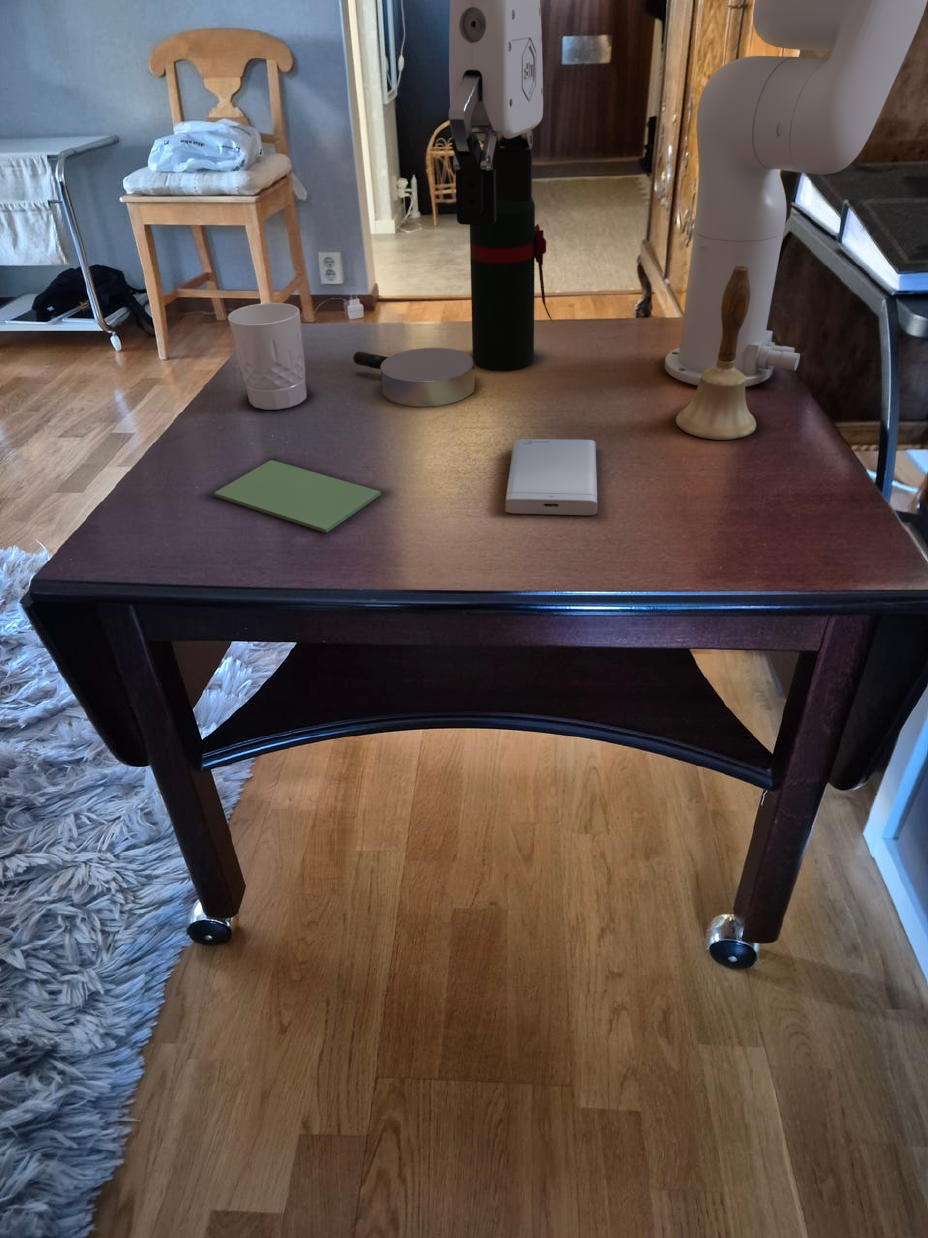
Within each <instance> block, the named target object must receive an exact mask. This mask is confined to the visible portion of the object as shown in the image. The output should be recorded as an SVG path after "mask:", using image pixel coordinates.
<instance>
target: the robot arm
mask: <svg viewBox="0 0 928 1238" xmlns="http://www.w3.org/2000/svg"><path fill="white" fill-rule="evenodd" d="M927 4H928V0H755V1H754V5H753V10H752V11H753V12H752V23H753V27H754V31H755V33H756V35H757V36H758V38H759V39H761V40H762V41H763V42H764V43H765V44H768V45H770V46H772V47H775V48H781V49H786V50H796V51H822V52H823V51H825V52H827V51H828V52H831V55H830V56H829V58H819V57H818V58H815V57H799V56H782V55H781V56H779V55H752V56H743V57H741V58H737V59H734V60H731V61H729V62H727V63H725V64H723V65H722V66H720V67H719V68H718V69H717V70H716V71H715V72H714V73H713V74H712V75H711V76H710V77H709V79H708V80H707V82H706V84H705V85H704V86H703V89H702V91H701V94H700V97H699V101H698V104H697V110H696V121H695V122H696V125H695V127H696V144H697V145H696V146H697V159H698V160H697V163H698V165H697V166H698V179H697V180H698V181H697V195H696V205H695V217H694V224H693V233H692V242H691V249H690V250H691V251H690V258H689V266H688V267H689V268H688V276H687V285H686V293H685V302H684V310H683V319H682V328H681V335H680V344H679V347H677V348H675V349H672V350H670V351H669V352H668V353H667V354H666V356H665V358H664V370H665V371H666V372H667V374H669V376H671V377H673V378H675V380H677V381H680V382H683V383H686V384H689V385H694V386H698V385H699V382H700V378H701V375H702V373H703V372H704V371H705V370H707V369H710V368H713V367H715V366H716V365H717V360H718V354H719V352H720V351H719V350H720V345H721V340H722V334H723V327H722V320H721V306H722V299H723V294H724V291H725V288H726V286H727V284H728V282H729V280H730V278H731V276H732V273H733V271H734V268H735V267H736V266H746V267H748V276H749V282H750V292H751V295H750V303H749V308H748V312H747V315H746V318H745V320H744V322H743V324H742V327H741V329H740V331H739V335H738V341H737V349H736V358H735V359H734V360H735V363H734V368H735V369H737V370H738V371H740V372H742V373H743V374H744V376H745V378H746V381H745V388H747V387H751V386H754V385H758V384H761V383H763V382H765V381H766V380H768V379H769V378H771V376H772V375H773V370H774V367H775V368H778V369H779V370H780V369H781V370H787V371H793V372H795V371H797V368H798V366H799V364H800V363H799V362H800V359H801V354H800V353H798V352H795V350H796V347H791V346H786V345H776V343H775V342H774V341H773V342H772V338H773V333H774V332H773V331H772V330H768V329H767V327H768V322H769V316H770V311H771V304H772V299H773V294H774V287H775V283H776V276H777V271H778V265H779V260H780V254H781V253H780V252H781V250H782V249H781V248H782V244H783V243H782V242H783V238H784V237H783V236H784V233H785V227H786V221H787V211H788V210H787V198H786V192H785V188H784V185H783V181H782V178H781V174H780V171H787V172H793V173H802V174H810V175H832V174H836V173H838V172H841V171H843V170H844V169H846V168H847V167H848V166H850V165H851V164H852V163H853V162H854V161H855V159H856V158H858V156H859V154H860V153H861V152H862V150H863V149H864V147H865V145H866V143H867V142H868V140H869V138H870V136H871V134H872V132H873V130H874V128H875V125H876V123H877V121H878V119H879V117H880V115H881V112H882V110H883V108H884V105H885V103H886V101H887V98H888V97H889V94H890V92H891V89H892V87H893V85H894V84H895V80H896V79H897V77H898V74H899V72H900V70H901V67H902V65H903V62H904V61H905V58H906V56H907V54H908V52H909V49H910V47H911V44H912V42H913V40H914V38H915V36H916V33H917V31H918V28H919V26H920V23H921V21H922V18H923V16H924V13H925V10H926V8H927ZM448 25H449V26H448V27H449V28H448V31H449V32H448V73H449V74H448V83H449V109H448V120H449V126H450V132H451V136H452V138H451V139H450V144H451V145H450V146H451V149H452V151H453V153H454V154H453V159H452V166H453V169H454V174H455V175H454V177H455V179H454V180H455V205H456V221H457V223H458V224H459V225H463V226H470V225H484V226H491V225H493V224H494V223H495V222H496V198H497V199H498V200H507V201H528V200H530V199H531V197H532V198H533V144H534V135H533V129H535V128H536V127H537V126H538V125H539V124H540V123H541V122H542V120H543V116H544V74H543V73H544V71H543V70H544V69H543V68H544V65H543V34H542V33H543V31H542V28H543V27H542V10H541V0H449V23H448ZM497 138H498V142H499V145H500V148H504V149H496V150H495V155H496V169H492V159H493V154H494V149H495V144H496V139H497ZM480 142H483V144H482V146H481V144H480Z"/></svg>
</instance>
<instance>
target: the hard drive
mask: <svg viewBox="0 0 928 1238" xmlns="http://www.w3.org/2000/svg"><path fill="white" fill-rule="evenodd" d="M596 447H597V446H596V442H595V441H594V440H593V439H553V438H551V439H540V438H537V439H536V438H535V439H534V438H533V439H532V438H531V439H530V438H519V439H515V440H514V441H513V445H512V451H511V452H512V453H511V459H510V466H509V473H508V480H507V486H506V487H507V488H506V496H505V512H507V513H509V514H521V515H522V514H525V515H527V514H528V515H561V516H562V515H567V516H593V515H596V514H597V512H598V483H597V482H598V481H597V477H598V476H597V452H596V449H597V448H596Z"/></svg>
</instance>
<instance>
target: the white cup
mask: <svg viewBox="0 0 928 1238" xmlns="http://www.w3.org/2000/svg"><path fill="white" fill-rule="evenodd" d="M300 312H301V311H300V308H299V307H297V306H296V305H294V304H290V303H284V302H264V303H255V304H250V305H245V306H243V307H242V306H241V307H239V308H237V309H234V310H232V311H231V312H230V313H229V314H228V315H227V321H228V324H229V329H230V333H231V337H232V340H233V345H234V349H235V354H236V357H237V360H238V364H239V367H240V372H241V376H242V378H243V379H242V380H243V381H244V383H245V389H246V393H247V397H248V401H249V403H250V404H251V405H252V406H253V407H254V408H256V409H261V410H265V411H267V410H273V411H274V410H283V409H284V410H285V409H289V408H293V407H295V406H297V405H300V404H301V403H303V402H304V401H306V399H307V397H308V396H307V395H308V391H307V383H306V359H305V348H304V340H303V332H302V331H303V330H302V321H301V313H300Z"/></svg>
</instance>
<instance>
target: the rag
mask: <svg viewBox="0 0 928 1238" xmlns="http://www.w3.org/2000/svg"><path fill="white" fill-rule="evenodd" d="M381 495H382V493H381V491H380V490H378V489H374V488H370V487H368V486H367V487H366V486H363V485H360V484H356V483H353V482H350V481H345V480H342V479H339V478H336V477H332V476H328V475H325V474H322V473H318V472H316V471H312V470H307V469H305V468H302V467H301V468H300V467H297V466H294V465H291V464H287V463H284V462H280V461H277V460H273V459H270V460H268V461H266V462H265V463H263V464H261V465H259V466H258V467H256V468H254V469H252V470H250V471H249V472H247V473H245V474H244V475H242V476H240V477H238V478H237V479H235V480H233V481H231V482H230V483H228V484H227V485H225V486H223V487H221V488H219V489H218V490H216V491H214V492H213V496H214V497H215V498H219V499H222V500H224V501H228V502H231V503H234V504H236V505H240V506H243V507H246V508H249V509H251V510H254V511H258V512H260V513H265V514H267V515H269V516H273V517H276V518H278V519H279V518H280V519H282V520H285V521H288V522H291V523H294V524H298V525H300V526H303V527H307V528H310V529H312V530H315V531H319V532H322V533H325V534H328V533H329V532H330V531H332V530H333V529H335V528H336V527H338V526H339V525H340V524H342V523H343V522H345V521H346V520H348V519H349V518H350V517H352V516H353V515H355V514H356V513H357V512H359V511H360V510H362V509H363V508H365V507H366V506H367V505H369V504H370V503H372V502H373V501H374V500H376V499H378V497H380V496H381Z"/></svg>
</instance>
